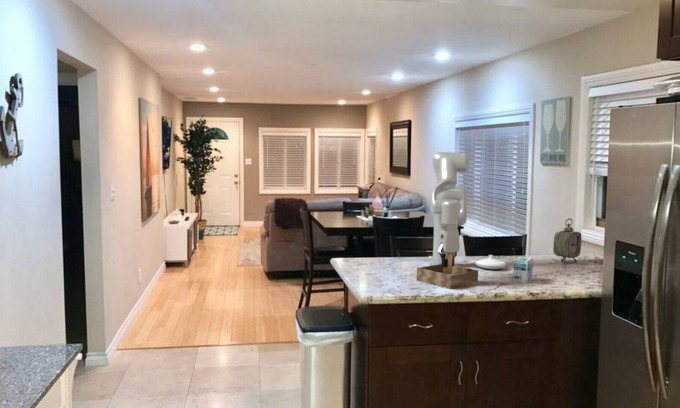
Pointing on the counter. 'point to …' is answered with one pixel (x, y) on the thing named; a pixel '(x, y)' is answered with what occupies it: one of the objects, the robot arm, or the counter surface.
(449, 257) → the peg
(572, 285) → the counter surface
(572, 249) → the tabletop clock
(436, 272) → the bore box
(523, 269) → the light bulb box
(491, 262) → the vase
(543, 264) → the counter surface
